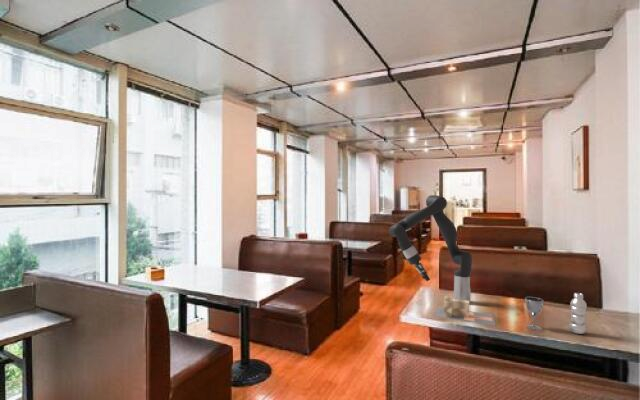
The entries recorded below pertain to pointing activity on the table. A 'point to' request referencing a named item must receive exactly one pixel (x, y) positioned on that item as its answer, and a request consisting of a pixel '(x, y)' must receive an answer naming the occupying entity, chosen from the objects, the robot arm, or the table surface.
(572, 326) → the plastic bottle
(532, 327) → the wine glass
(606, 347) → the table surface
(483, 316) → the T board
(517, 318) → the table surface
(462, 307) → the maple T block
